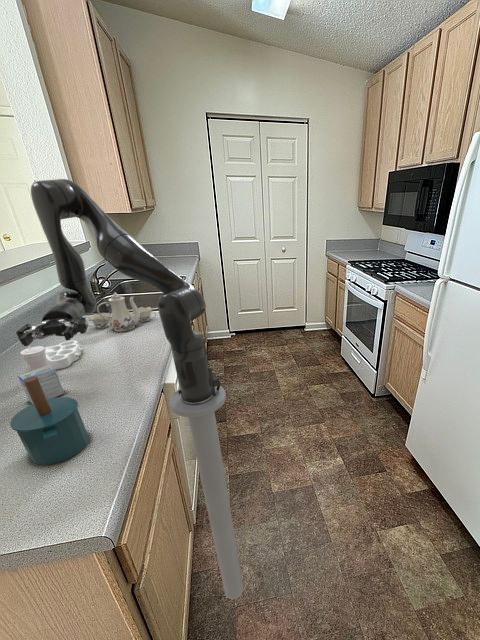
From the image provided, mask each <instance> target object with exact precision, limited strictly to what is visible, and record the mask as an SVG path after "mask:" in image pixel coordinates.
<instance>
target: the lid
mask: <svg viewBox="0 0 480 640" xmlns="http://www.w3.org/2000/svg"><path fill="white" fill-rule="evenodd" d="M23 382H24V384H25V386H26V388H27V390H28V393H29V395H30V397H31V399H32V401H33V403H34V404H32V403H31V404H30V405H28V406H26V407H24V408H22V409H21V410H19V411H18V412H17V413H16V414H14V415H13V417H12V418H11V419H10V421H9V426H10V427H11V429H12V430H13V431H15V432H17V431H18V432H32V431H38V430H42V429H46V428H49V427H52V426H54V425H57V424H59V423H61V422H63V421H64V420H66V419H68V418H69V417H70V416H72V415H73V414H74V413H75V412H76V410H77V408H78V409H79V403H78V401H77V400H76V399H75V398H73V397H68V396H57V397H55V398H51V399H46V396H45V394H44V392H43V389H42V387H41V385H40V382H39V380H38V378H37V377H29V378H26V379H25V380H24V381H23Z"/></svg>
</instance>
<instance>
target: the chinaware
mask: <svg viewBox="0 0 480 640" xmlns="http://www.w3.org/2000/svg"><path fill="white" fill-rule="evenodd" d="M134 298H135V296H134V295H132V296H130V297H129V304H130V306H131V309H132V313H131V312H130V311H129V309H128V307H127V305H126V300H125V299H126V297H125V296H121V295H120V294H118V293H117V292H115V291H114V292H113V294H112V295H111V297H109V298H108V300H107V301H103V302H101V303H99V304H97V307H96V311H97V313H95V314H92V315H90V317H88V318H87V320H86V321H87V325H88V327H89V328H90V327H95V328H98V329H107V328H108V325H109V327H110V328H112V329H113V331H114V332H117V333H124V332H128V331H129V332H130V331H131V330H134V329H135V328H136V326H135V325H136V324H137V322H138V321H139V320H140V322H142V323H144V322H149V321H150V320H152V318H155V317H156V316H157V314H156V312H155V311H154V310H153V308H152V307H151V306H146V307H144V306H140V307H137V304H136V303H135V301H134ZM102 305H106V307H109V306H110V308H111V313H107V312H100V309H99V308H100V307H101V306H102ZM152 313H154V316H152ZM88 322H92V323H93V325H89V324H88Z"/></svg>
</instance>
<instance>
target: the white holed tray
mask: <svg viewBox="0 0 480 640" xmlns="http://www.w3.org/2000/svg"><path fill="white" fill-rule="evenodd" d="M45 349H46V351H45V354H46V358H47V362H48V365H49V366H50V367H52V368H54V369H55V370H63V369H66V368H69V367H70V366H71V364H72V363H74V362H76V361H77V360H79V359H80V356H81V355H82V351H84V350H85V348H84V347H80V344H79V341H78V340H67V341H66V340H65V341H63V342H60V343H58V344H55V345H49V346H46V347H45Z"/></svg>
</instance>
